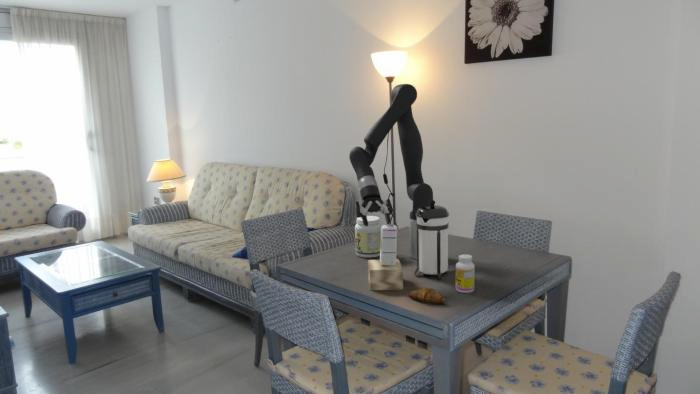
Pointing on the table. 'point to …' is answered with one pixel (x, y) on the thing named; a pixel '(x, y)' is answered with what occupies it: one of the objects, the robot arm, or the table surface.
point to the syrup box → (388, 244)
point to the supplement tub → (368, 237)
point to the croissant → (427, 296)
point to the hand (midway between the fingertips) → (377, 224)
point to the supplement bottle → (465, 274)
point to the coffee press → (432, 240)
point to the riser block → (385, 275)
